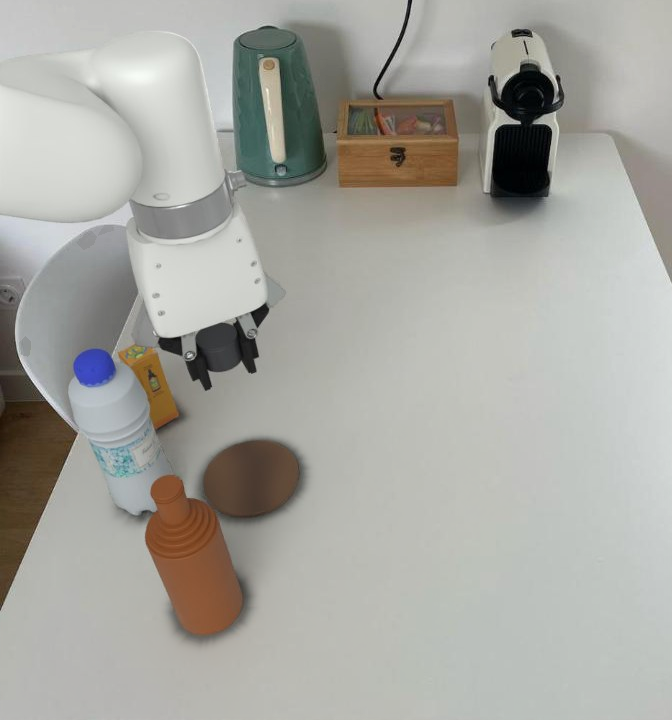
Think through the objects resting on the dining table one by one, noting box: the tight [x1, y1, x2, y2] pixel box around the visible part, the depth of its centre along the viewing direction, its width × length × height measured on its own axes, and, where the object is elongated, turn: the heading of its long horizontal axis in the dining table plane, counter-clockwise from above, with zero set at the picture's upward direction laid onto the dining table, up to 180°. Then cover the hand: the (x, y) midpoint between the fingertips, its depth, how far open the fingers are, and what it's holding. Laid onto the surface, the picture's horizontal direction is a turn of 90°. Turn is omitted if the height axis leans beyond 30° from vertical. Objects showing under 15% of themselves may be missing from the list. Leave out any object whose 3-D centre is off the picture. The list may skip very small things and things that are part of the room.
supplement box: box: [117, 343, 180, 431], centre depth 90 cm, size 3×3×10 cm
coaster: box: [202, 439, 300, 519], centre depth 86 cm, size 10×10×1 cm
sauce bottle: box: [144, 474, 244, 636], centre depth 69 cm, size 6×6×18 cm
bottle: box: [67, 348, 174, 517], centre depth 78 cm, size 7×7×20 cm
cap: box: [195, 322, 243, 373], centre depth 73 cm, size 4×4×3 cm
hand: (225, 371), depth 75 cm, fingers closed on cap, 3 cm apart
